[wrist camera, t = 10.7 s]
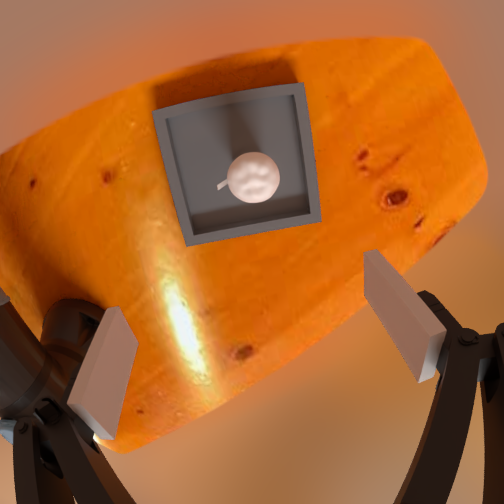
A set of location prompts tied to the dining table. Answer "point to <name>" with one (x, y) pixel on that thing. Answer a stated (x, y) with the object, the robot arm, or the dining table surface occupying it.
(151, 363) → the dining table surface
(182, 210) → the slate tray
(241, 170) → the milkshake
